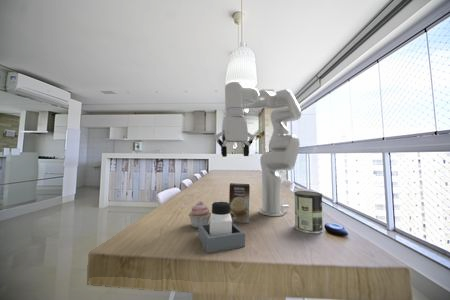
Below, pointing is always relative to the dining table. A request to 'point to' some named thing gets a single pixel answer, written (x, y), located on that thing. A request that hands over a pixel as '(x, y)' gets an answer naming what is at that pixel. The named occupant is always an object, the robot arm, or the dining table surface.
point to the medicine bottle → (220, 219)
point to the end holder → (221, 239)
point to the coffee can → (308, 212)
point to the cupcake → (199, 214)
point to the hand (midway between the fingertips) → (235, 156)
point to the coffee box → (239, 202)
